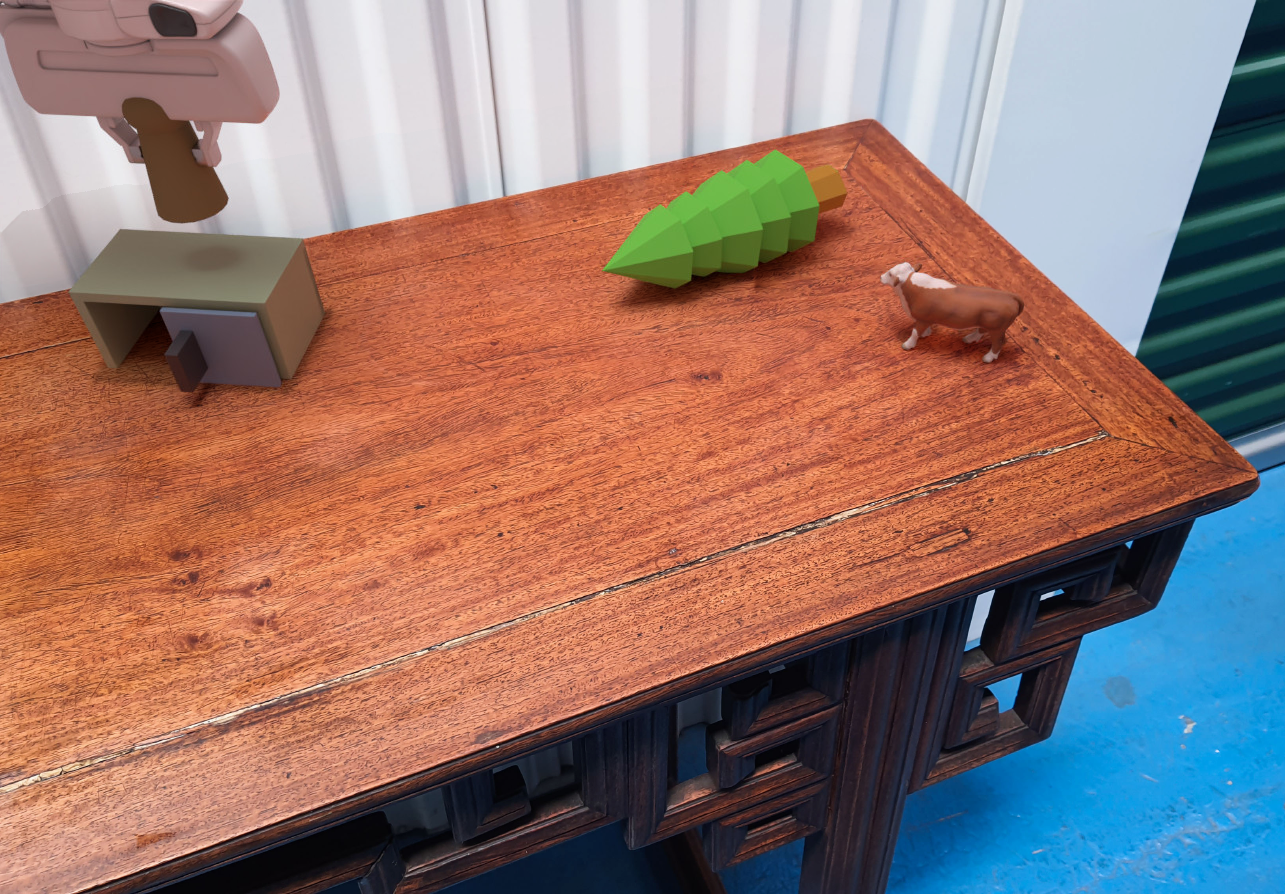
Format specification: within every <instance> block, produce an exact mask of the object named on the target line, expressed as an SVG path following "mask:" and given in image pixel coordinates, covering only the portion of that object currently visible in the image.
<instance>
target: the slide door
mask: <svg viewBox="0 0 1285 894" xmlns="http://www.w3.org/2000/svg"><path fill="white" fill-rule="evenodd" d="M159 313H160V315H161V317H162V320H163V322H164V324H165V327H166V329H167V331H168V334H169V336H170V338H171V341H172V342H171V344H170V345H169V346H168V347H167V350H166V351H165V352H164V354H163V355H164V358H165V360H166V363H167V365H168V367H169V369H170V371H171V373H172V375H173V377H174V379H175V382H176V384H177V386H178V388H179V392H181V393H190V394H191V393H195V391H196V390H197V388H198V386H199V384H200V383H201V384H216V385H217V384H218V385H231V386H232V385H235V386H251V387H265V388H266V387H267V388H281V386H282V384H283V383H282V379H280V377H279V374H278V371H277V369H276V366H275V363H274V360H273V357H272V355H271V352H270V349H269V346H268V344H267V341H266V338H265V335H264V332H263V330H262V327H261V324H260V321H259V318H258V316H257V313H252V312H234V311H217V310H199V309H182V308H164V307H163V308H162V309H159Z"/></svg>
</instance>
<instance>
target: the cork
mask: <svg viewBox="0 0 1285 894" xmlns="http://www.w3.org/2000/svg"><path fill="white" fill-rule="evenodd" d="M122 113H123V116H124V119H125V120H126V122H127V123H128V124H129V125H130V126H131V127H132V128H133V129H134V130H136V133H137V134H138V138H139V142H140V146H141V150H142V154H143V158H144V162H145V164H144V166H145V170H146V174H147V177H148V182H149V186H150V190H151V193H152V197H153V202H154V206H155V210H156V213H157V216H158V217H159V218H160V219H161V220H163V221H164V222H165V221H166V222H168V223H173V224H191V223H196V222H201V221H205V220H207V219H209V218H212V217H214V216H216V215H217V214H219V213H220V212H221V211H223V210H224V209H225V208H226V206H227V205H228V203H229V200H230V199H229V198H230V197H229V195H228V193H227V191H226V189H225V187H224V185H223V183H222V181H221V179H220V177H219V175H218V174H217V171H216V170H215V167H203V166H198V165H197V164H196V158H195V157H194V156H193V153H192V150H191V149H192V148H193V147H194V145H196V144H197V142H198V140H199V137H198V135H197V133H196V132H195V129H194V127H193V125H192V123H191V121H185V120H171V119H169V117H168V116H167V114H166V113H165V111H164V110H163V108H162V107H161V106H160V105H159V104H157V103H156V102H154V101H153V100H150V99H146V98H139V97H133V98H128V99H125V100H124V102H123V104H122Z"/></svg>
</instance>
